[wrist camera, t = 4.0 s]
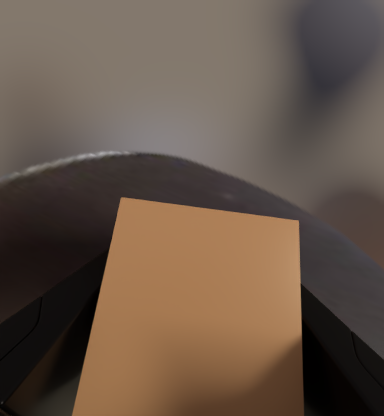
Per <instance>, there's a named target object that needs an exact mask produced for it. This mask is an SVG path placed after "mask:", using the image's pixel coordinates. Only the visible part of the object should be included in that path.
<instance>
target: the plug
mask: <svg viewBox="0 0 384 416" xmlns="http://www.w3.org/2000/svg"><path fill="white" fill-rule="evenodd" d="M72 416H304V398H303V361H302V324H301V287H300V250H299V221H296V220H289V219H281V218H274V217H266V216H258V215H251V214H243V213H236V212H228V211H221V210H213V209H205V208H198V207H190V206H183V205H175V204H168V203H160V202H152V201H145V200H137V199H130V198H122V197H121V201H120V205H119V210H118V214H117V219H116V223H115V228H114V232H113V236H112V241H111V245H110V250H109V254H108V259H107V263H106V267H105V272H104V276H103V281H102V285H101V289H100V294H99V298H98V303H97V307H96V312H95V316H94V320H93V325H92V329H91V334H90V338H89V343H88V347H87V351H86V356H85V360H84V365H83V369H82V374H81V378H80V382H79V387H78V391H77V396H76V400H75V405H74V409H73V413H72Z"/></svg>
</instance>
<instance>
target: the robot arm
mask: <svg viewBox="0 0 384 416" xmlns="http://www.w3.org/2000/svg"><path fill="white" fill-rule="evenodd" d="M109 250H110V248H108V249H107V250H106V251H104V252H103V253H101V254H100V255H99V256H97V257H96V258H94V259H93V260H91V261H90V262H89V263H87V264H86V265H84V266H83V267H81V268H80V269H79V270H77V271H76V272H74V273H73V274H72V275H70V276H69V277H67V278H66V279H64V280H63V281H62V282H60V283H59V284H57V285H56V286H54V287H53V288H52V289H50V290H49V291H47V292H46V293H45V294H43V296H42V297H39V298H37V299H36V300H34V301H33V302H32V303H30V304H29V305H27V306H26V307H24V308H23V309H21V310H20V311H19V312H17V313H16V314H14V315H13V316H11V317H10V318H8V319H7V320H5V321H4V322H2V323H1V324H0V416H72V413H73V409H74V405H75V400H76V396H77V391H78V387H79V382H80V378H81V374H82V369H83V365H84V360H85V356H86V351H87V347H88V343H89V338H90V334H91V329H92V325H93V320H94V316H95V312H96V307H97V303H98V298H99V294H100V289H101V285H102V281H103V276H104V272H105V267H106V263H107V259H108V254H109ZM300 287H301V324H302V361H303V398H304V416H384V359H382V358H381V357H380V356H379V355H378V354H377V353H376V352H375V351H374V350H372V349H371V348H370V347H369V346H368V345H367V344H366V343H365V342H364V341H363V340H361V339H360V338H359V337H358V336H357V335H356V334H355V333H354V332H352V331H351V330H350V329H349V328H348V327H347V326H346V325H345V324H344V323H343V322H342V321H341V320H340V319H339V318H338V317H337V316H335V315H334V314H333V313H332V312H331V311H330V310H329V309H328V308H327V307H326V306H325V305H324V304H322V303H321V302H320V301H319V300H318V299H317V298H316V297H315V296H314V295H313V294H312V293H311V292H310V291H308V290H307V289H306V288H305V287H304V286H303V285H302V284H301V283H300Z"/></svg>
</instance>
